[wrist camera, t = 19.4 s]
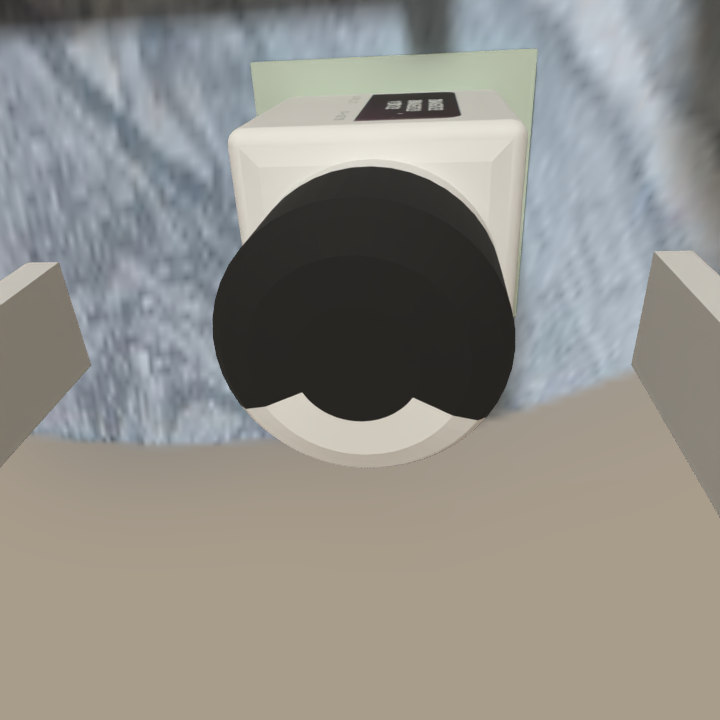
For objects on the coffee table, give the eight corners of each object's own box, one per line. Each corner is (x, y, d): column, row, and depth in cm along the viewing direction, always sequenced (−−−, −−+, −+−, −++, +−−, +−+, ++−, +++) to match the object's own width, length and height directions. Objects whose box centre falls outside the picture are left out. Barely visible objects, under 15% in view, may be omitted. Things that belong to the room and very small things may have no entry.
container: (284, 95, 22) (133, 179, 11) (500, 87, 22) (575, 168, 10) (303, 292, 26) (205, 503, 15) (488, 292, 25) (533, 516, 14)
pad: (284, 310, 27) (281, 316, 27) (254, 62, 23) (250, 63, 22) (514, 310, 26) (515, 316, 26) (535, 48, 21) (537, 49, 21)
